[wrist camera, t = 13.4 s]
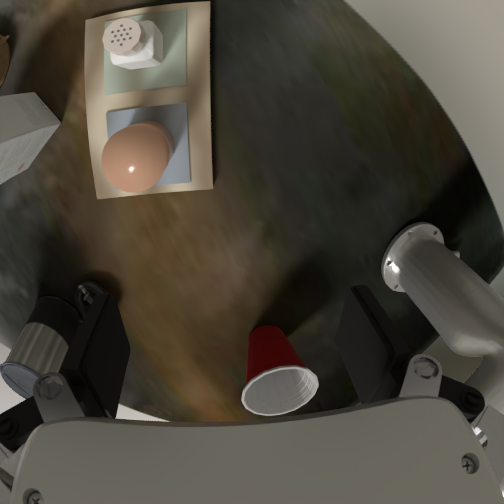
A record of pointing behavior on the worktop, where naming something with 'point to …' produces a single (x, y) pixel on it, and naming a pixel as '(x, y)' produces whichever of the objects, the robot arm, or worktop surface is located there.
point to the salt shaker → (134, 43)
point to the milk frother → (45, 339)
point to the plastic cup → (275, 374)
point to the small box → (23, 131)
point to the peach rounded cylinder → (137, 156)
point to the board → (155, 95)
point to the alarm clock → (4, 57)
